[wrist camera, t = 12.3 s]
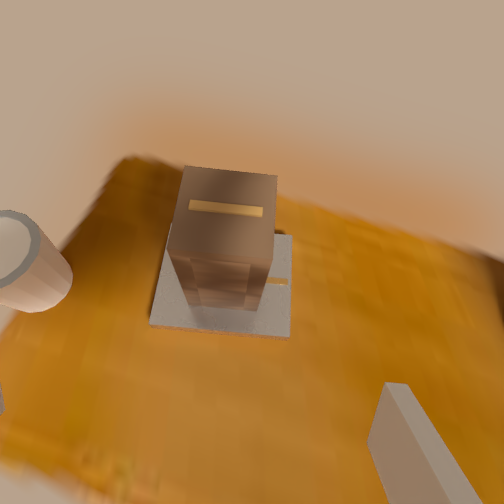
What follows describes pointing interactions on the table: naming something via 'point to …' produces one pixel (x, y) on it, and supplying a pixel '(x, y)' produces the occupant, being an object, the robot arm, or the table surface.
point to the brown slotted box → (223, 237)
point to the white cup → (30, 266)
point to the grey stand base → (229, 320)
